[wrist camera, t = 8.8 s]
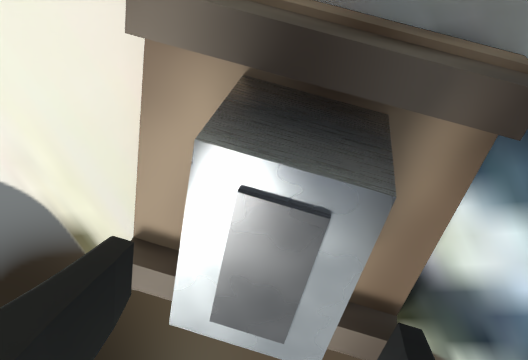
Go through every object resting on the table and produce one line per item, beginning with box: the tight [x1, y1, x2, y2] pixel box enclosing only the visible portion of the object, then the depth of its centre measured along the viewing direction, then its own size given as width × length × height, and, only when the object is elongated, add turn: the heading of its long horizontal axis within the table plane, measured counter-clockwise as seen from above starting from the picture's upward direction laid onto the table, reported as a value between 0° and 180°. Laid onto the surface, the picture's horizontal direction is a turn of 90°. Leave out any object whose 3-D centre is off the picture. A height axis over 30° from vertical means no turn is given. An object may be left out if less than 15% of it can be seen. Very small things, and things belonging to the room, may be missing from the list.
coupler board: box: [125, 0, 528, 360], centre depth 17 cm, size 12×13×3 cm
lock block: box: [169, 75, 396, 360], centre depth 15 cm, size 5×7×5 cm
